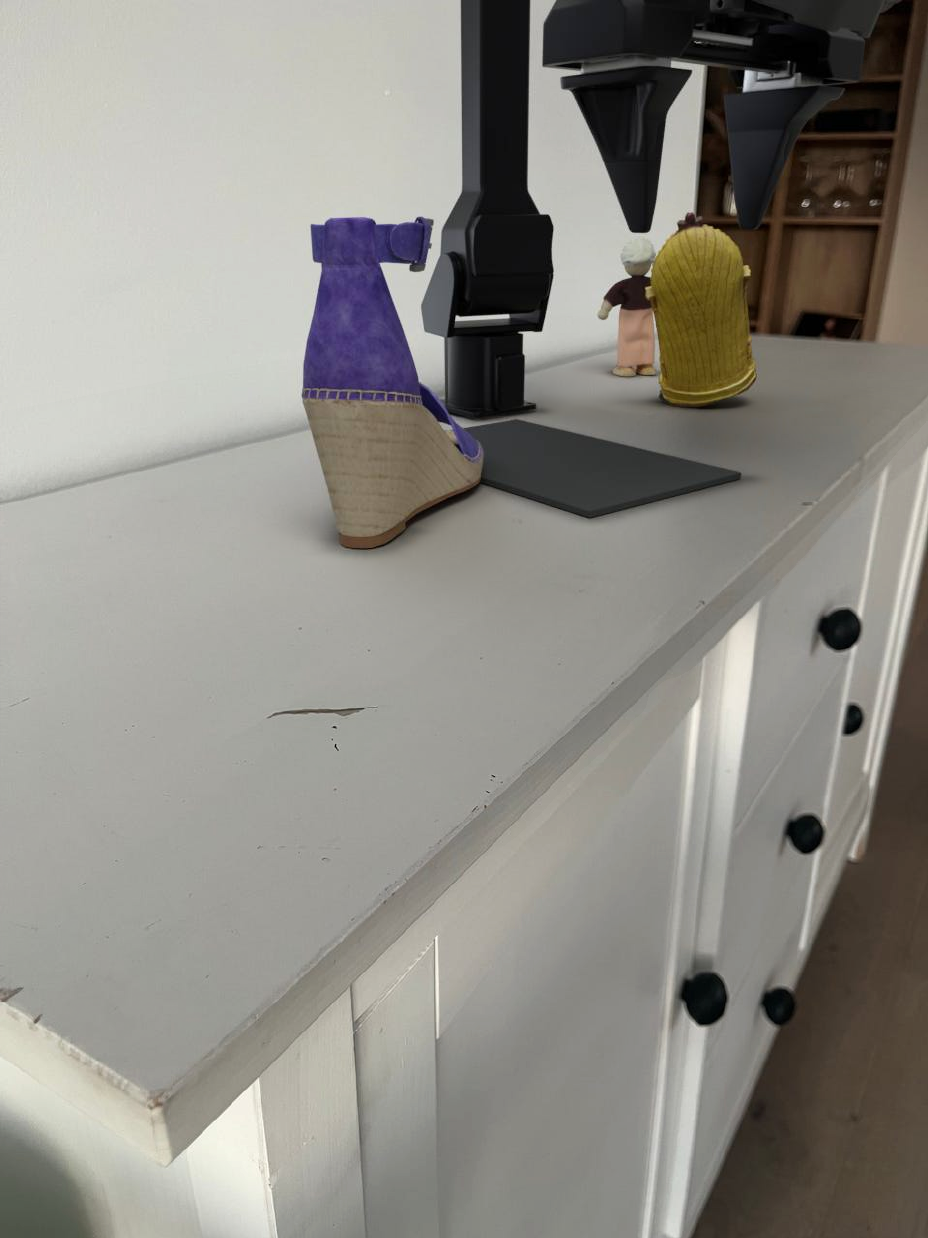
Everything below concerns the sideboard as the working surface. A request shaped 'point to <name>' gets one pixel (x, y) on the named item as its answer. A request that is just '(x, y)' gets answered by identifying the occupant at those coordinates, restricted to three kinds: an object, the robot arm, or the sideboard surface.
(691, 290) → the shrine
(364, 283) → the sandal
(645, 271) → the grandmother figurine
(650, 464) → the mat
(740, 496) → the sideboard surface
